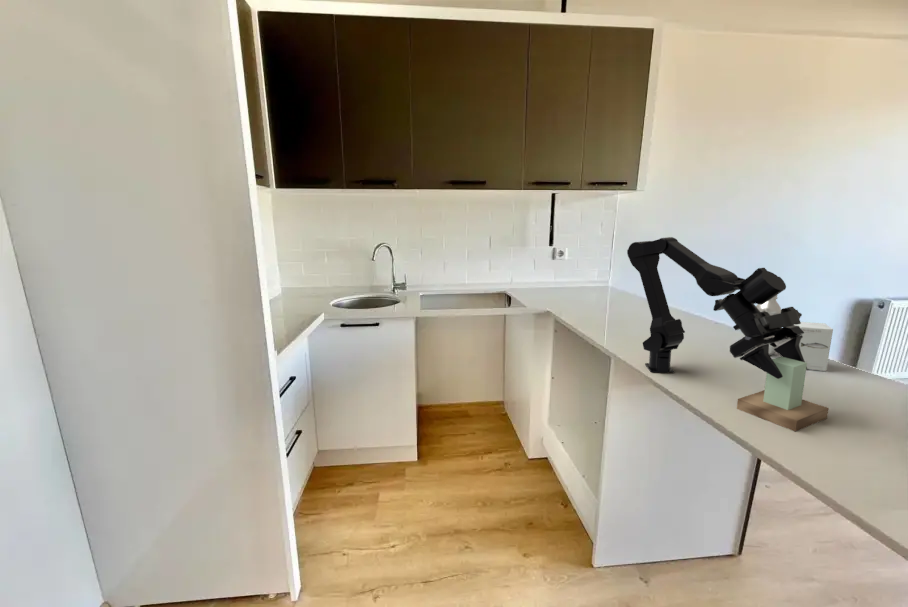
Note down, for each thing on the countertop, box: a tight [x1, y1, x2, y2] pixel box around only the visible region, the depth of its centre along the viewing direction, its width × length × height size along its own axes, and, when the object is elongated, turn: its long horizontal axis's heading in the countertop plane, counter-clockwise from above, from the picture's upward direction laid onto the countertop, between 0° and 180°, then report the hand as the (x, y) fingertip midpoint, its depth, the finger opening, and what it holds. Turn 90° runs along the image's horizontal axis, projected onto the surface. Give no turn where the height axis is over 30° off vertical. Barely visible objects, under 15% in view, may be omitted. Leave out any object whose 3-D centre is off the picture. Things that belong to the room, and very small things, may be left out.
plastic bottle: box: [755, 295, 782, 356], centre depth 130 cm, size 6×7×20 cm
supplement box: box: [794, 321, 834, 372], centre depth 119 cm, size 7×7×13 cm
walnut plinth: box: [736, 389, 829, 432], centre depth 93 cm, size 12×12×2 cm
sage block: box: [763, 356, 807, 410], centre depth 92 cm, size 5×5×10 cm
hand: (793, 373), depth 90 cm, fingers open, 9 cm apart
